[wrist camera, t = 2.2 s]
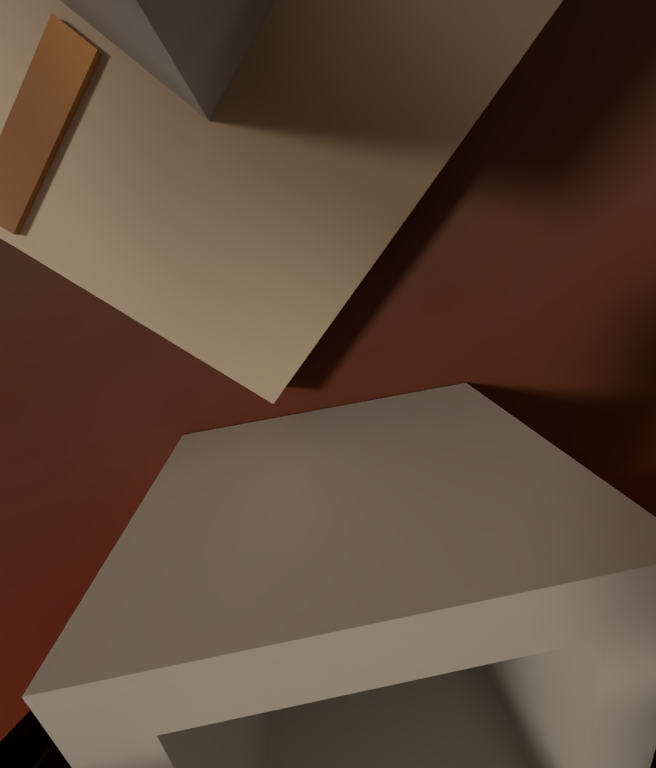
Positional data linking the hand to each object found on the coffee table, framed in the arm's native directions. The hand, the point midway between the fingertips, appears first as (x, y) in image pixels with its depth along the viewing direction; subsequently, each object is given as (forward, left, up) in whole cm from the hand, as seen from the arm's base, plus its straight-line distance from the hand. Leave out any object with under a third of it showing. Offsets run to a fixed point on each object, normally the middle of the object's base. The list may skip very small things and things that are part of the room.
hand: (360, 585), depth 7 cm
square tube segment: (0, 0, -2) cm, 2 cm away
